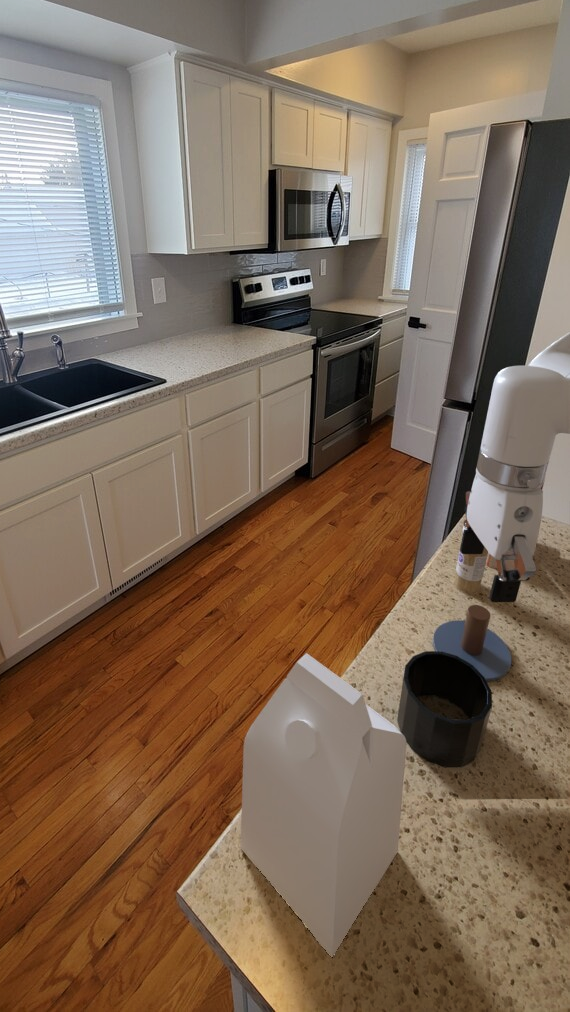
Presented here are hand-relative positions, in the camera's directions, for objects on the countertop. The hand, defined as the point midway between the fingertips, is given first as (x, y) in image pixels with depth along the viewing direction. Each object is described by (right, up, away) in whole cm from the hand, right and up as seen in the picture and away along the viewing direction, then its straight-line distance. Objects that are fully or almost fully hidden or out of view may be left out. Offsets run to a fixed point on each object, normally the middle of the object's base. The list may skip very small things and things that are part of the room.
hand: (485, 575), depth 67 cm
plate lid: (+1, -13, +6) cm, 14 cm away
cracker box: (+18, -4, +28) cm, 33 cm away
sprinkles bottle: (+6, -8, +19) cm, 21 cm away
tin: (-8, -19, -4) cm, 21 cm away
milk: (-26, -25, -16) cm, 39 cm away
